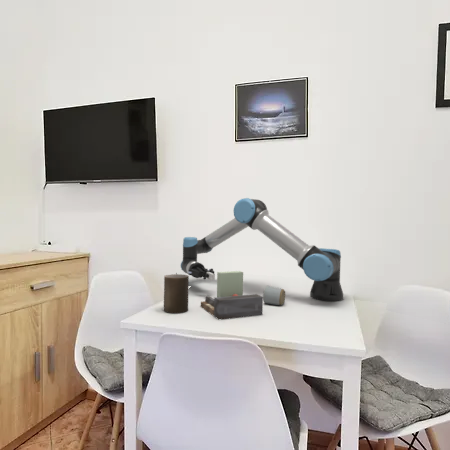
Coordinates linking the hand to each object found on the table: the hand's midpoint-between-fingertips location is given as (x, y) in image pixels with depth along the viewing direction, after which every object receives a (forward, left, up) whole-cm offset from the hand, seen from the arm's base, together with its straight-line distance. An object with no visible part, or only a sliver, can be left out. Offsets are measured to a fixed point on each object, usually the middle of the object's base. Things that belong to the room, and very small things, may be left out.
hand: (213, 277), depth 161 cm
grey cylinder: (-24, -13, -10) cm, 29 cm away
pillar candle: (0, +23, -10) cm, 25 cm away
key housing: (-16, +9, -10) cm, 21 cm away
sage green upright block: (-16, +9, -8) cm, 20 cm away
